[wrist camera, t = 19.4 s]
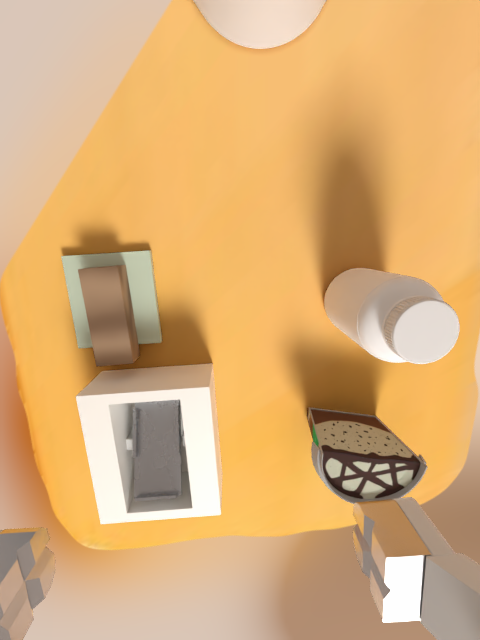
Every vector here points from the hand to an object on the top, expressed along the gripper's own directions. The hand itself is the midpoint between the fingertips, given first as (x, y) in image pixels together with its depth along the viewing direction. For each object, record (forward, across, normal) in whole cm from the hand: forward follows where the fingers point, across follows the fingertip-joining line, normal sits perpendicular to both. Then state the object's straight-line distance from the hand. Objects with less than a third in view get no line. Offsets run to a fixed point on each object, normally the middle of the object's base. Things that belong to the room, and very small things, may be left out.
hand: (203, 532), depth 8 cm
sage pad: (+31, +13, -2) cm, 34 cm away
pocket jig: (+31, +9, +15) cm, 36 cm away
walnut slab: (+30, +13, -1) cm, 33 cm away
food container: (+31, -14, +18) cm, 39 cm away
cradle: (+28, +9, +15) cm, 33 cm away
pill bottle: (+31, -16, 0) cm, 35 cm away
